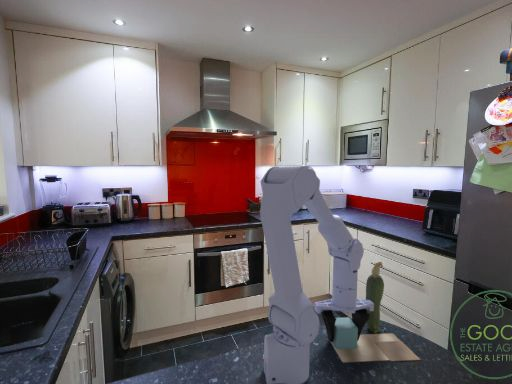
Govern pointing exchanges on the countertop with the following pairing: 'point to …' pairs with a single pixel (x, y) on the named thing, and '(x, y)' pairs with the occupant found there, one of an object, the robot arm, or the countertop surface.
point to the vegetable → (374, 297)
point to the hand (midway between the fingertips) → (342, 338)
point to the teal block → (345, 334)
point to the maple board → (377, 349)
